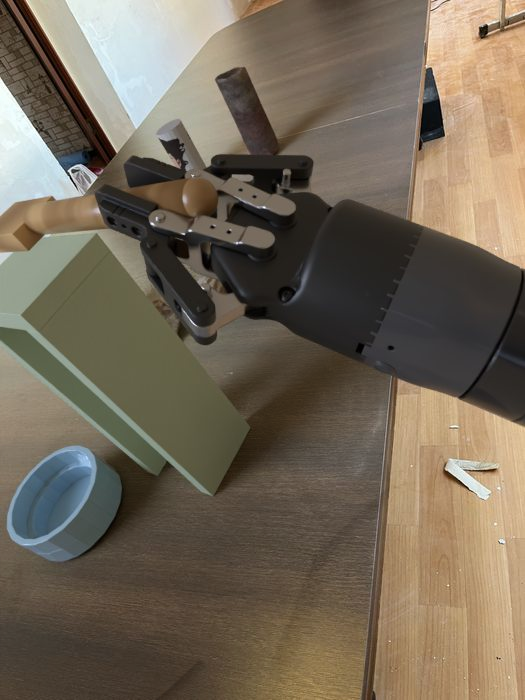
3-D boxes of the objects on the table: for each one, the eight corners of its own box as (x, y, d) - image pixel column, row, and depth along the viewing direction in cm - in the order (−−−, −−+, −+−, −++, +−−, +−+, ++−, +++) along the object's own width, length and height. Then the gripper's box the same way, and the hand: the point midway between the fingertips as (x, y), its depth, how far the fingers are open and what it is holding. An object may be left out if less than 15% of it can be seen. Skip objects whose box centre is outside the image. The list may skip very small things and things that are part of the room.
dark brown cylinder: (251, 155, 123) (213, 75, 110) (277, 141, 121) (242, 58, 108) (255, 167, 117) (216, 83, 104) (283, 152, 116) (247, 66, 103)
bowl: (79, 579, 60) (45, 561, 56) (22, 542, 68) (-11, 525, 64) (142, 480, 66) (115, 457, 62) (83, 457, 74) (56, 436, 70)
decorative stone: (180, 292, 84) (148, 367, 77) (194, 308, 87) (164, 381, 80) (139, 297, 89) (105, 368, 81) (153, 311, 92) (122, 381, 84)
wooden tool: (241, 189, 27) (223, 153, 26) (202, 241, 25) (179, 205, 24) (29, 218, 41) (9, 195, 40) (-8, 253, 39) (-30, 231, 37)
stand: (213, 496, 59) (20, 315, 39) (148, 472, 67) (-45, 308, 46) (250, 427, 64) (96, 232, 43) (186, 411, 71) (27, 238, 50)
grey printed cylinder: (202, 172, 129) (171, 118, 119) (216, 174, 124) (185, 118, 114) (183, 188, 127) (151, 135, 117) (197, 191, 122) (164, 135, 112)
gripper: (460, 159, 25) (170, 62, 29) (370, 370, 19) (7, 213, 22) (415, 257, 32) (183, 169, 35) (336, 439, 25) (59, 310, 28)
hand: (116, 187), depth 29 cm, fingers closed on wooden tool, 2 cm apart
